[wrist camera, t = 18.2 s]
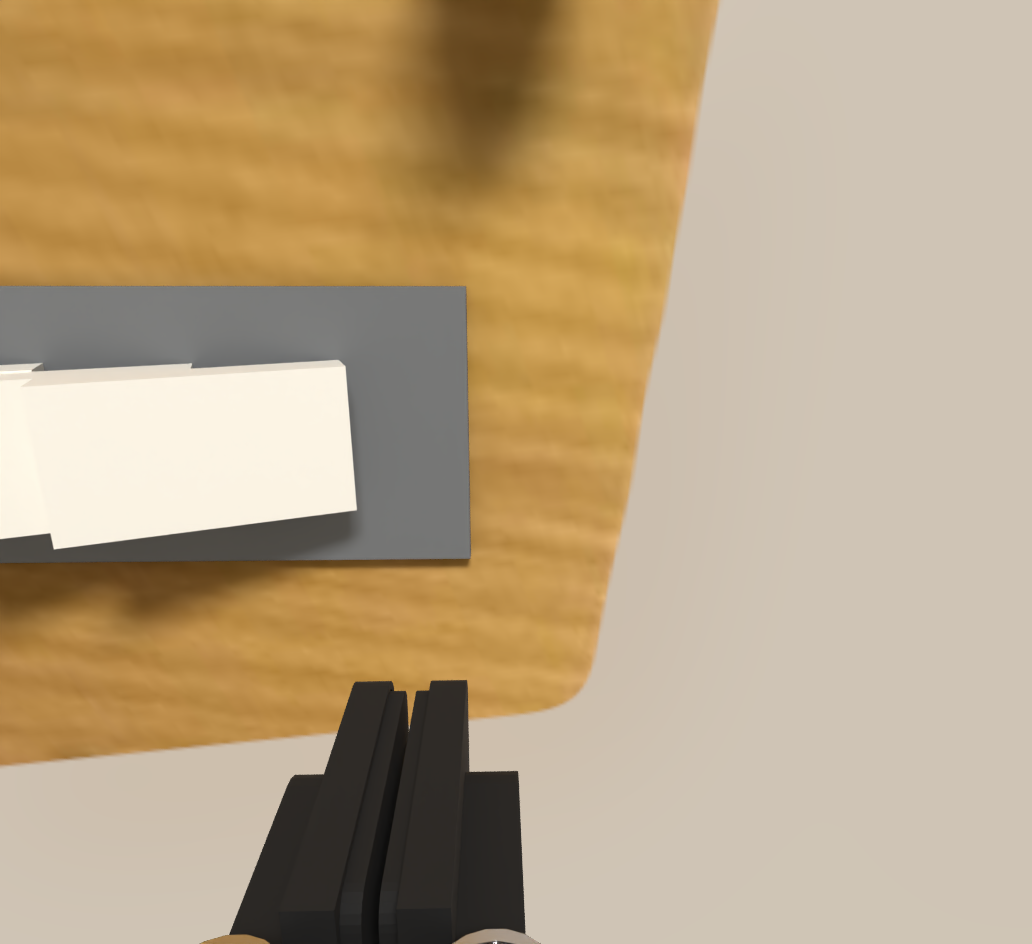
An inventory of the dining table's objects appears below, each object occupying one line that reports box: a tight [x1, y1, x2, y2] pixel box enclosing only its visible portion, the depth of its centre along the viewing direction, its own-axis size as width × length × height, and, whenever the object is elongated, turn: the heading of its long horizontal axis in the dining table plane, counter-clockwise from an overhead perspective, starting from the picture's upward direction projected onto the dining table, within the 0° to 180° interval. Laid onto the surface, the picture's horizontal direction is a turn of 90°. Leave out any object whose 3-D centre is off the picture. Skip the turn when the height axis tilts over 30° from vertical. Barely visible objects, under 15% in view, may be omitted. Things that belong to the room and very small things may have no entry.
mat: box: [0, 286, 471, 563], centre depth 31 cm, size 32×12×1 cm, turn 90°
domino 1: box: [0, 363, 193, 539], centre depth 28 cm, size 2×6×11 cm
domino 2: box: [20, 360, 357, 549], centre depth 29 cm, size 2×6×11 cm
